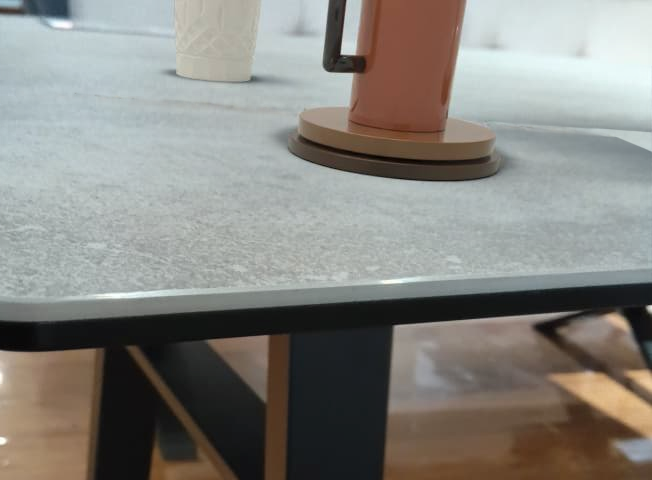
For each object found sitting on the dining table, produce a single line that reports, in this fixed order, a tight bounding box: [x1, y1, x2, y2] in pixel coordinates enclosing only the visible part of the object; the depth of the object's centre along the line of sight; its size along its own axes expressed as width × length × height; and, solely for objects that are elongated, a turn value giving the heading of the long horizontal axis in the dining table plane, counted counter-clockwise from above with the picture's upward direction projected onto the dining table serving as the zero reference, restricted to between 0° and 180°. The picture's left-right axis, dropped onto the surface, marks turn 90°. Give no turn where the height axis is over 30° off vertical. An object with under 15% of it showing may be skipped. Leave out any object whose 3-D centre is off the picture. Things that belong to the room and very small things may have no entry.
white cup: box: [173, 0, 262, 83], centre depth 78 cm, size 8×8×10 cm
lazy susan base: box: [287, 127, 501, 181], centre depth 55 cm, size 13×13×1 cm
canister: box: [297, 0, 497, 161], centre depth 52 cm, size 12×12×13 cm
